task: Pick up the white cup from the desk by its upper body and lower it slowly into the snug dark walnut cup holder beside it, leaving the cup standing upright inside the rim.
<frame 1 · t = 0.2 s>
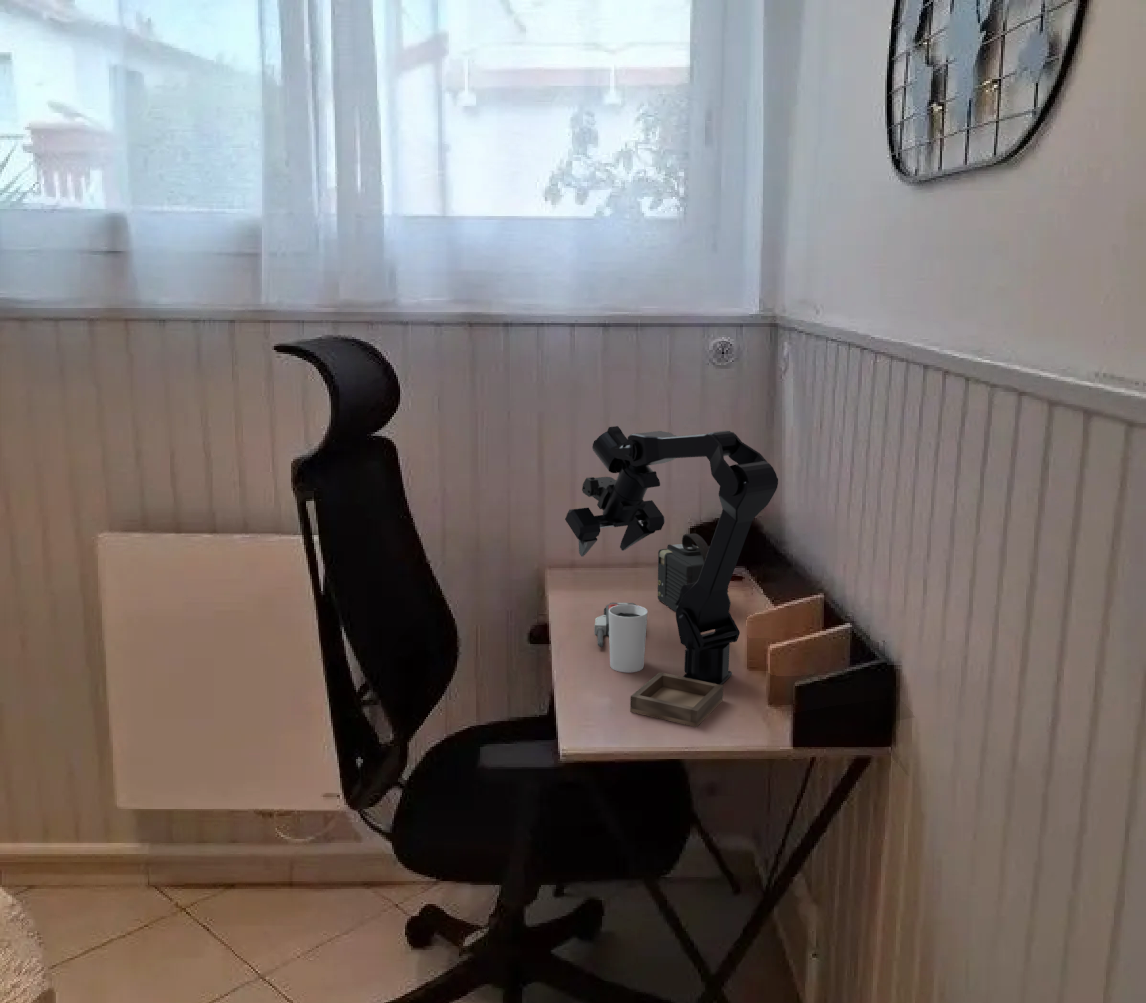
hand: (601, 551, 197), 15 cm above the table, tool tilted 30°, fingers open, 9 cm apart
cup holder: (677, 706, 164), on the table
camera: (693, 607, 211), on the table
walkie-talkie: (617, 634, 197), on the table
white cup: (626, 667, 180), on the table
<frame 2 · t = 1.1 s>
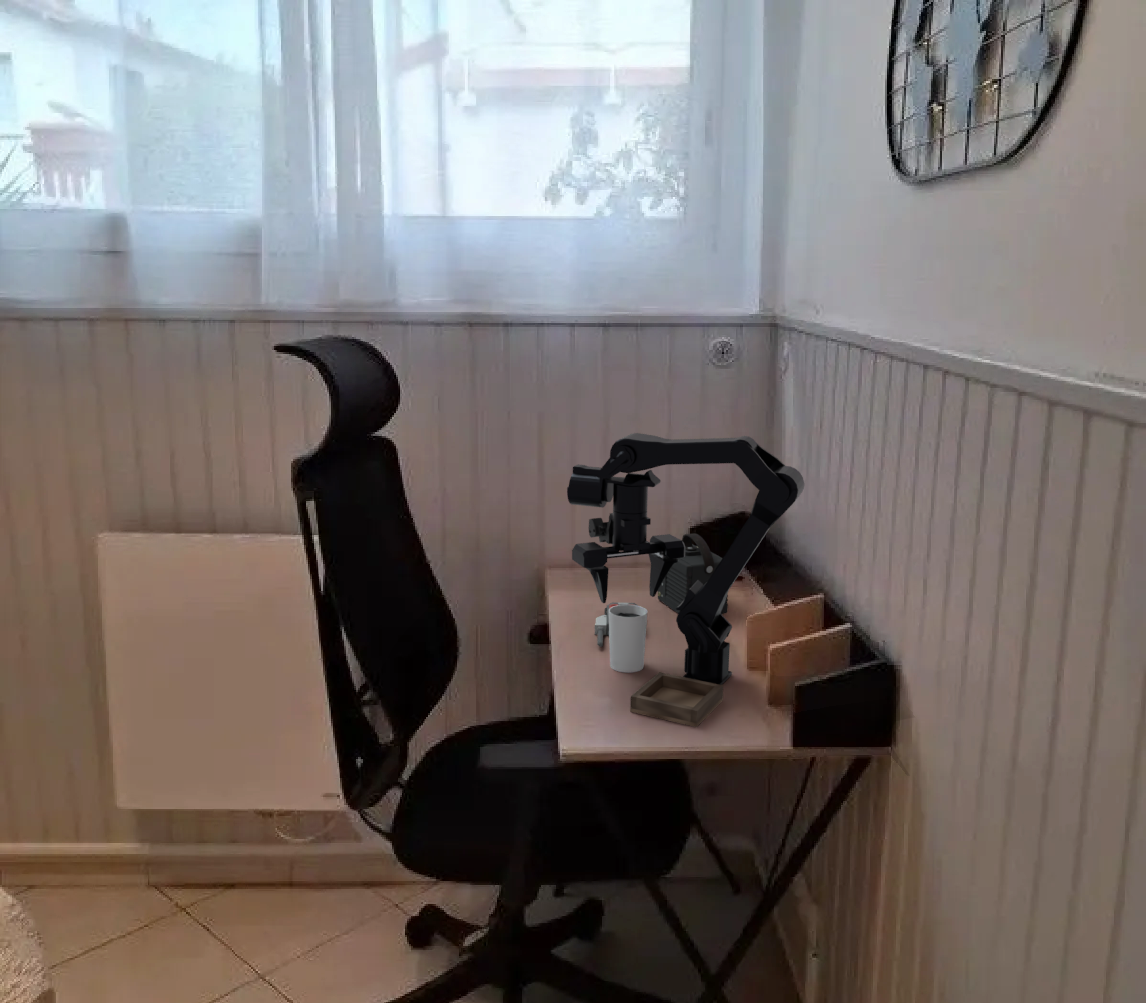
hand: (627, 599, 178), 12 cm above the table, tool pointing down, fingers open, 9 cm apart
nothing on the table moved.
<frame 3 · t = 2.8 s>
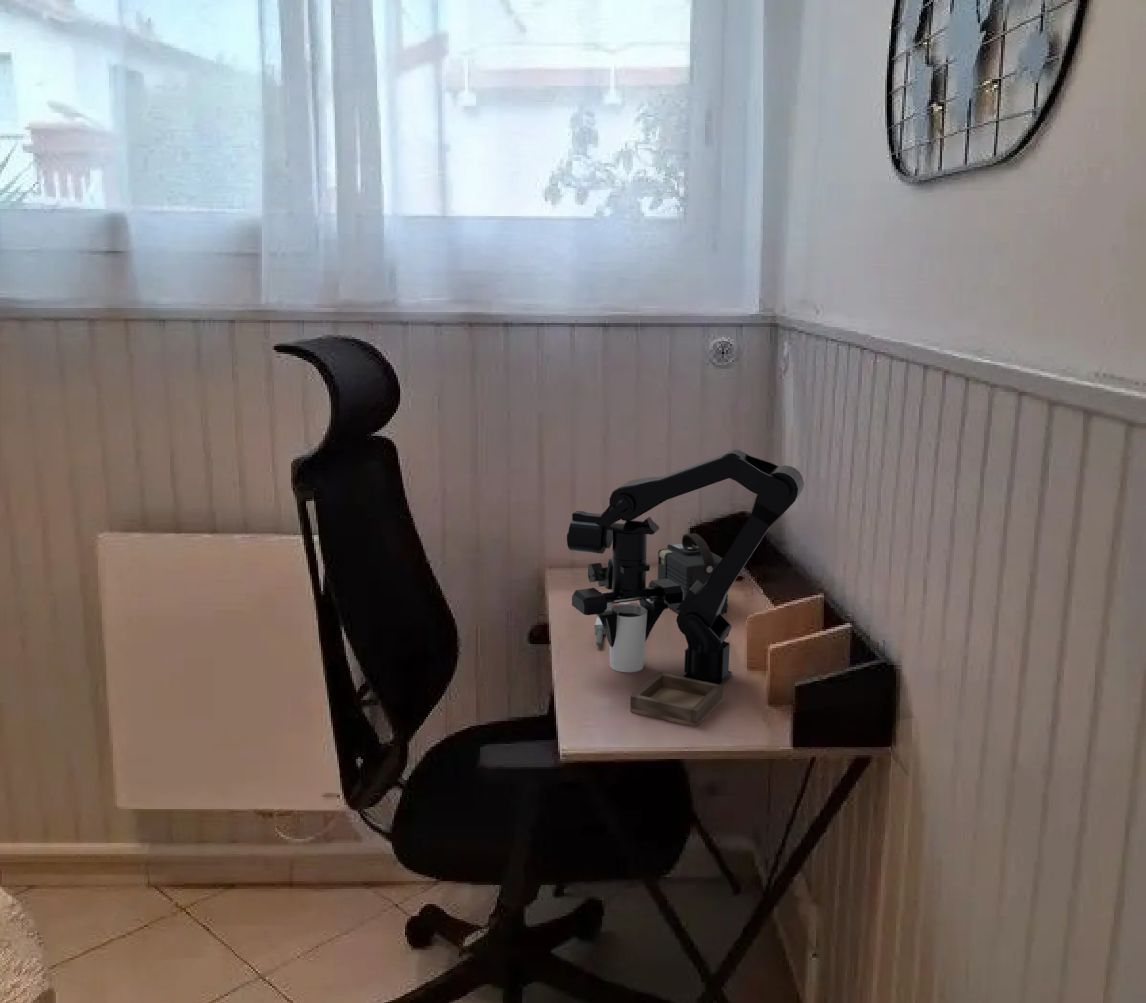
hand: (627, 643, 179), 4 cm above the table, tool pointing down, fingers closed on white cup, 6 cm apart
white cup: (626, 667, 180), on the table, touching gripper
everything else where it was.
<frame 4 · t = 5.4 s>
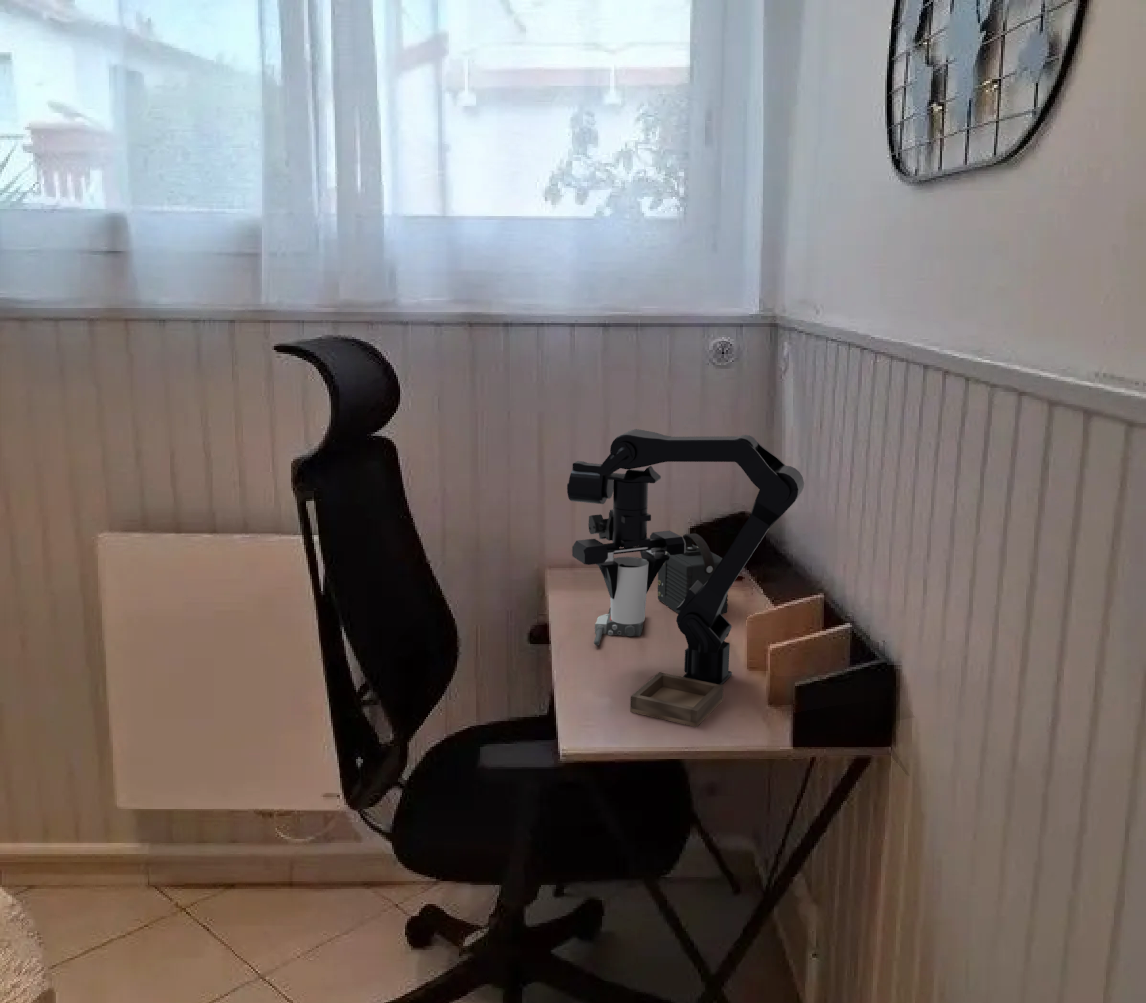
hand: (628, 596, 177), 13 cm above the table, tool pointing down, fingers closed on white cup, 6 cm apart
white cup: (627, 619, 178), point 8 cm above the table, touching gripper
everything else where it was.
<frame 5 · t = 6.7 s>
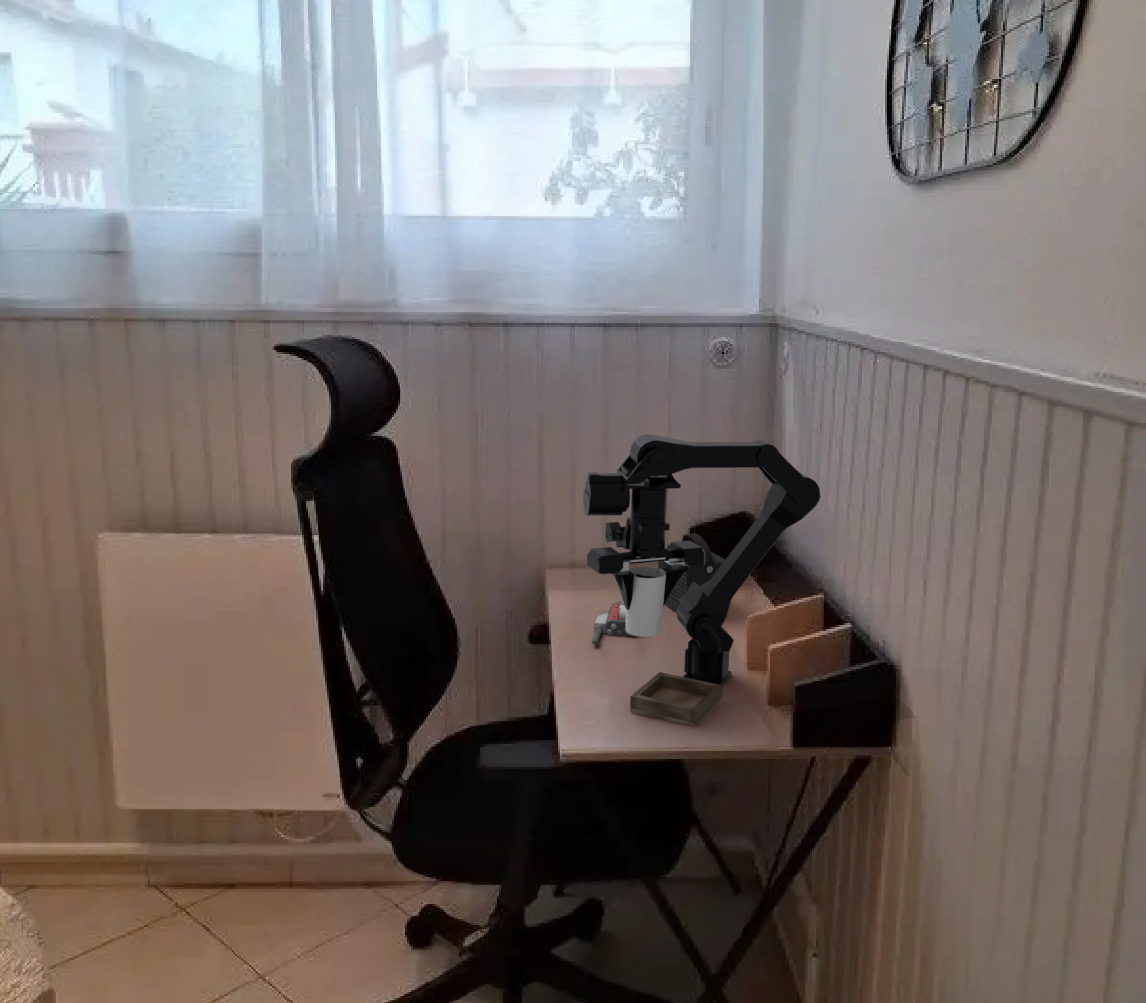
hand: (644, 607, 171), 13 cm above the table, tool pointing down, fingers closed on white cup, 6 cm apart
white cup: (643, 631, 172), point 9 cm above the table, touching gripper
everything else where it was.
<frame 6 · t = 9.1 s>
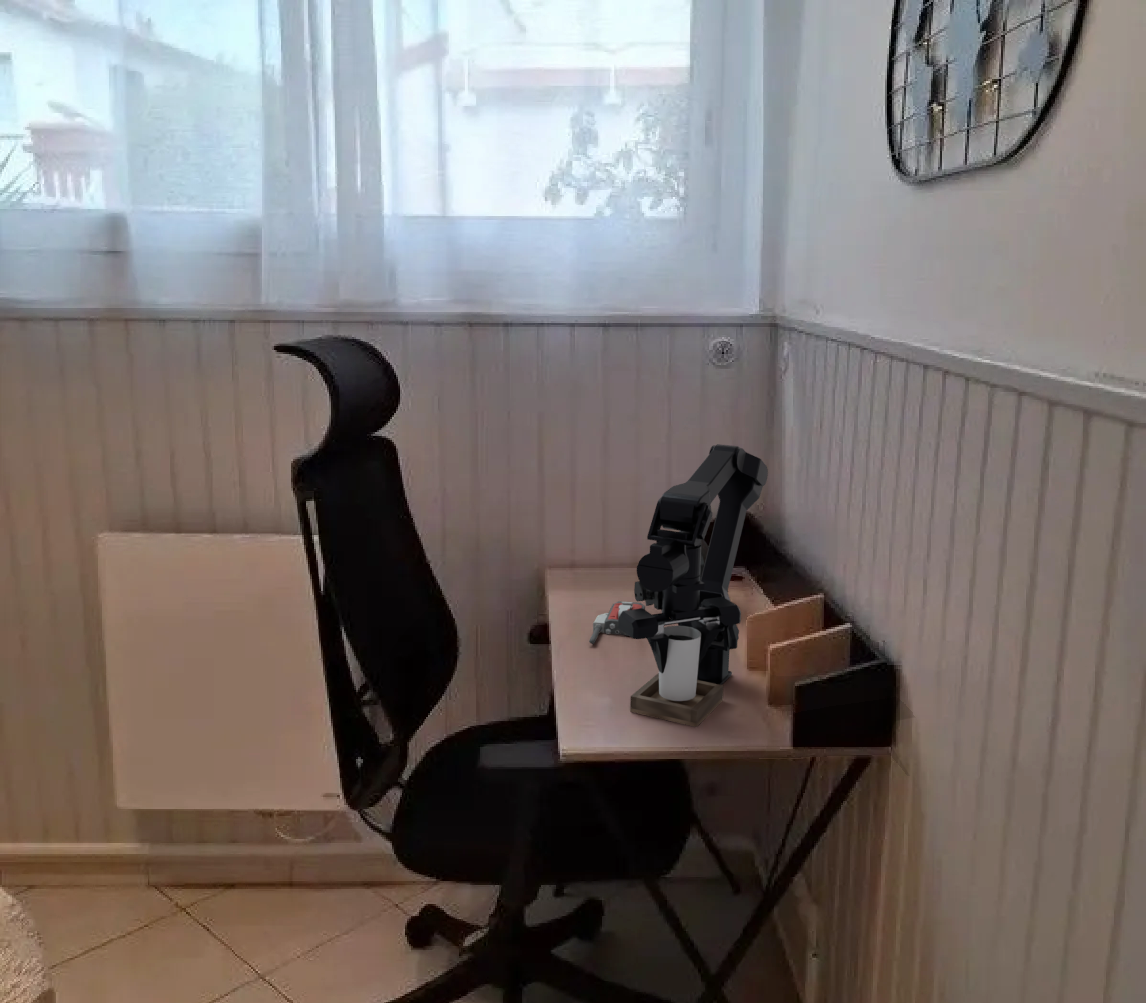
hand: (678, 669, 163), 6 cm above the table, tool pointing down, fingers closed on white cup, 6 cm apart
white cup: (677, 694, 164), point 2 cm above the table, touching gripper
when the fingers open (6 cm above the table, at t = 9.5 s): white cup drops 1 cm, resting on cup holder.
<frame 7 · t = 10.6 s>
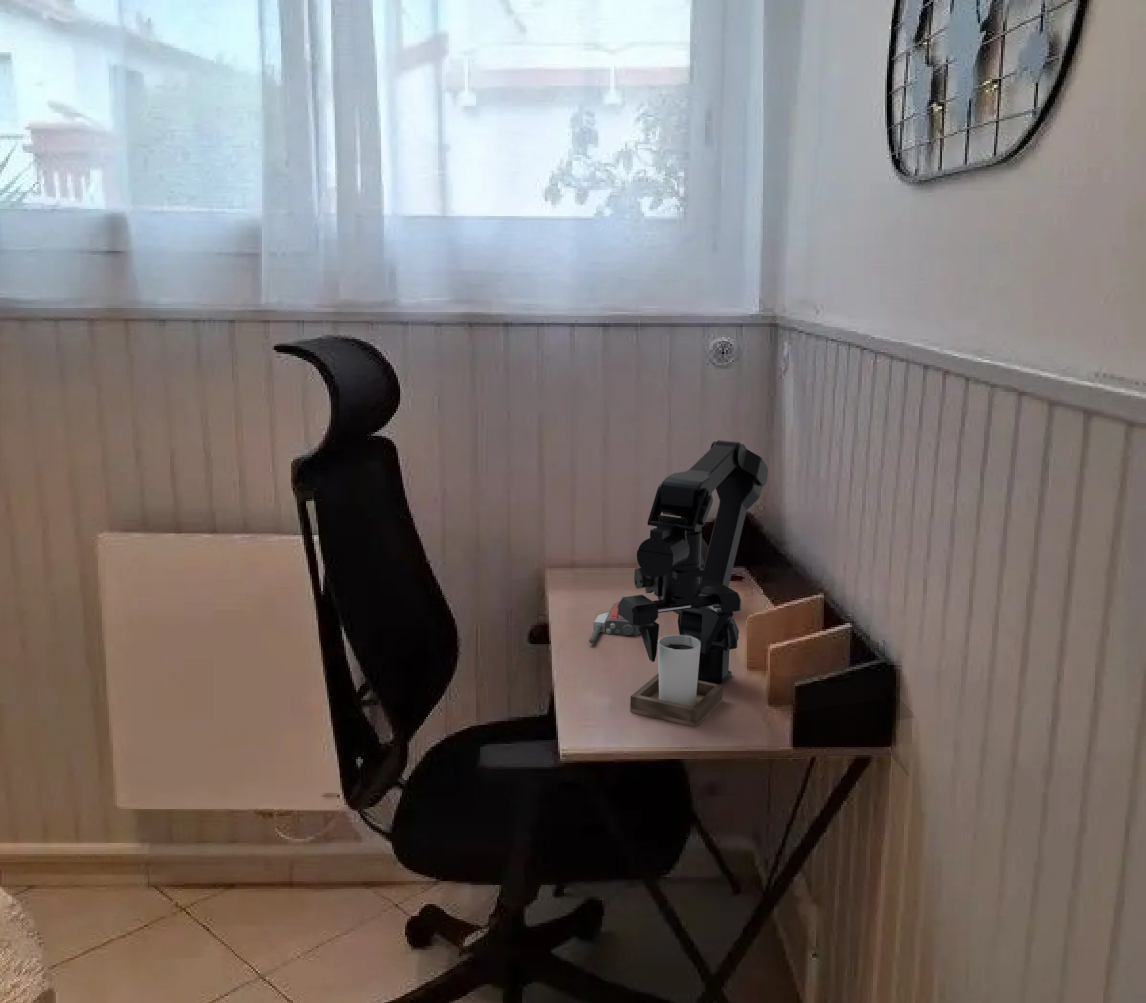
hand: (678, 656, 162), 8 cm above the table, tool pointing down, fingers open, 9 cm apart
white cup: (677, 703, 164), resting on cup holder
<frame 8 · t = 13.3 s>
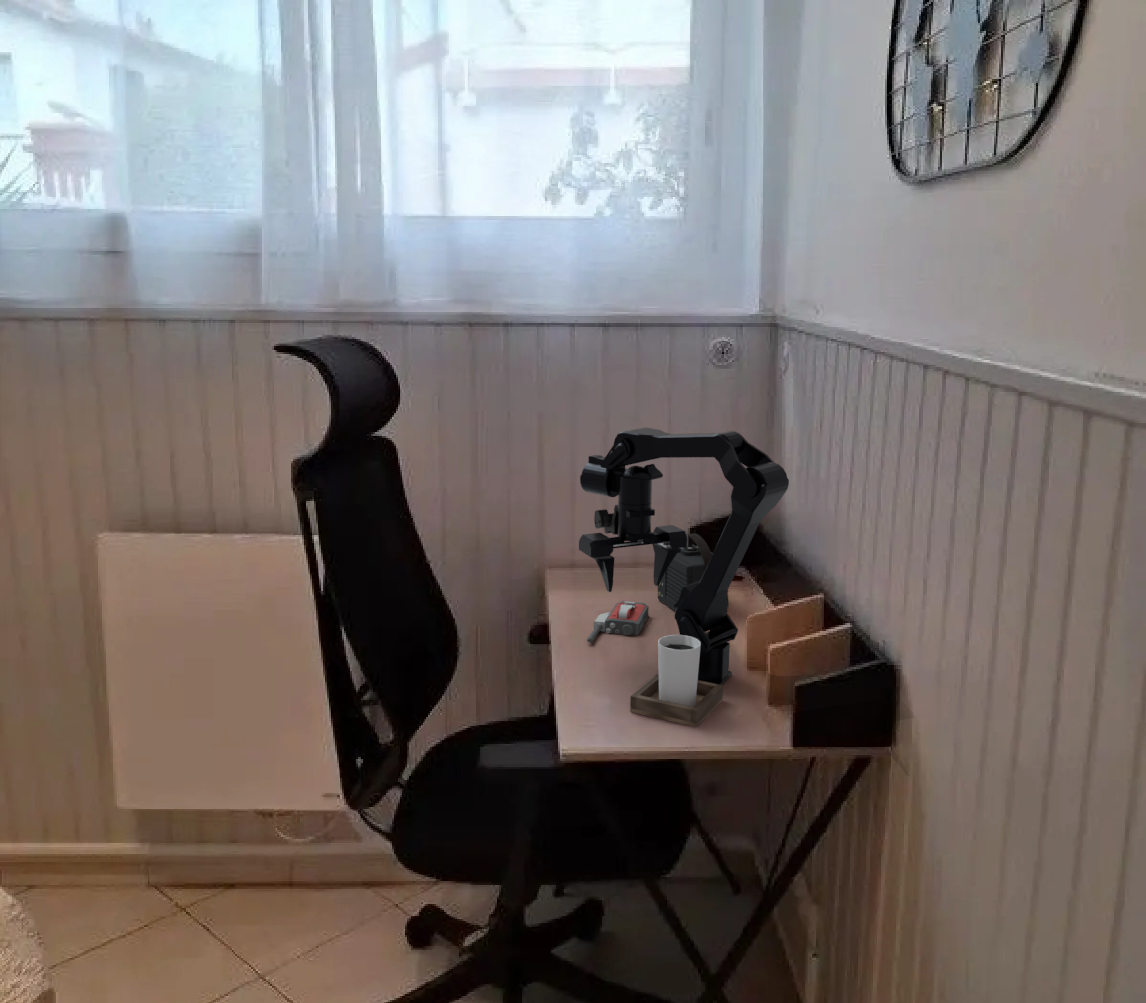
hand: (632, 588, 184), 12 cm above the table, tool pointing down, fingers open, 9 cm apart
at the end: white cup 0.0 cm off-centre on the cup holder, point 0.4 cm above the cup holder's base; white cup tilted 0°; the gripper is holding nothing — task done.
